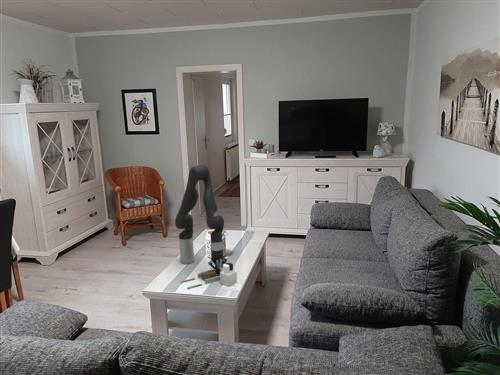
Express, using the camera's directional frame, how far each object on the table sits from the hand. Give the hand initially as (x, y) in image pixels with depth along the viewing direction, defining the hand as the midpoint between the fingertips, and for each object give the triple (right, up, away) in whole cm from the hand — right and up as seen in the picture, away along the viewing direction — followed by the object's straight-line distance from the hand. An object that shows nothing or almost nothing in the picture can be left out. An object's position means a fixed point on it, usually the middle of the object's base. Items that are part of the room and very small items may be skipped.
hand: (218, 274), depth 236 cm
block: (-6, -2, -3) cm, 7 cm away
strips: (-16, -3, -9) cm, 18 cm away
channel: (-5, -2, -3) cm, 5 cm away
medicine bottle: (+7, -3, -9) cm, 12 cm away
